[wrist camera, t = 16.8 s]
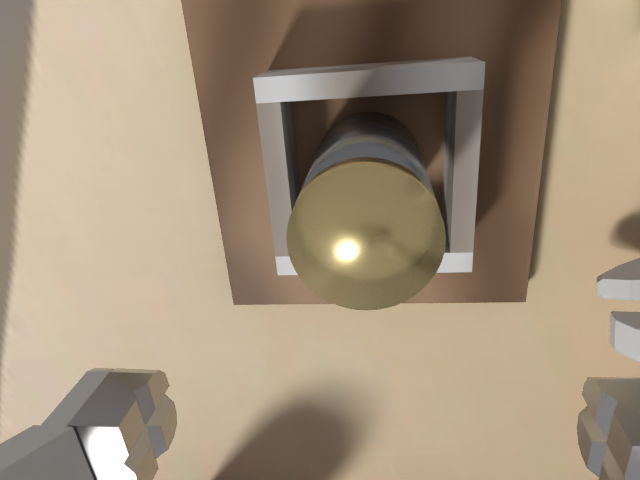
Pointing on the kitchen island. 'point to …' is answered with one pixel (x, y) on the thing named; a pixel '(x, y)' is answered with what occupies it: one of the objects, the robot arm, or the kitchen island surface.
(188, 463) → the kitchen island surface
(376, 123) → the gold and grey cylinder
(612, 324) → the wrench
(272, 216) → the collar board
